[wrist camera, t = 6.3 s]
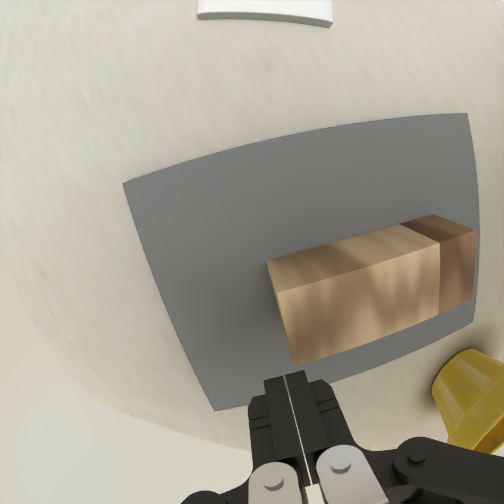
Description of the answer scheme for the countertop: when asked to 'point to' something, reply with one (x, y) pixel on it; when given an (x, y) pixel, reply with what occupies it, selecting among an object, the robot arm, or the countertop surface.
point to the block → (371, 285)
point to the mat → (294, 237)
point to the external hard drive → (269, 10)
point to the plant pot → (472, 401)
